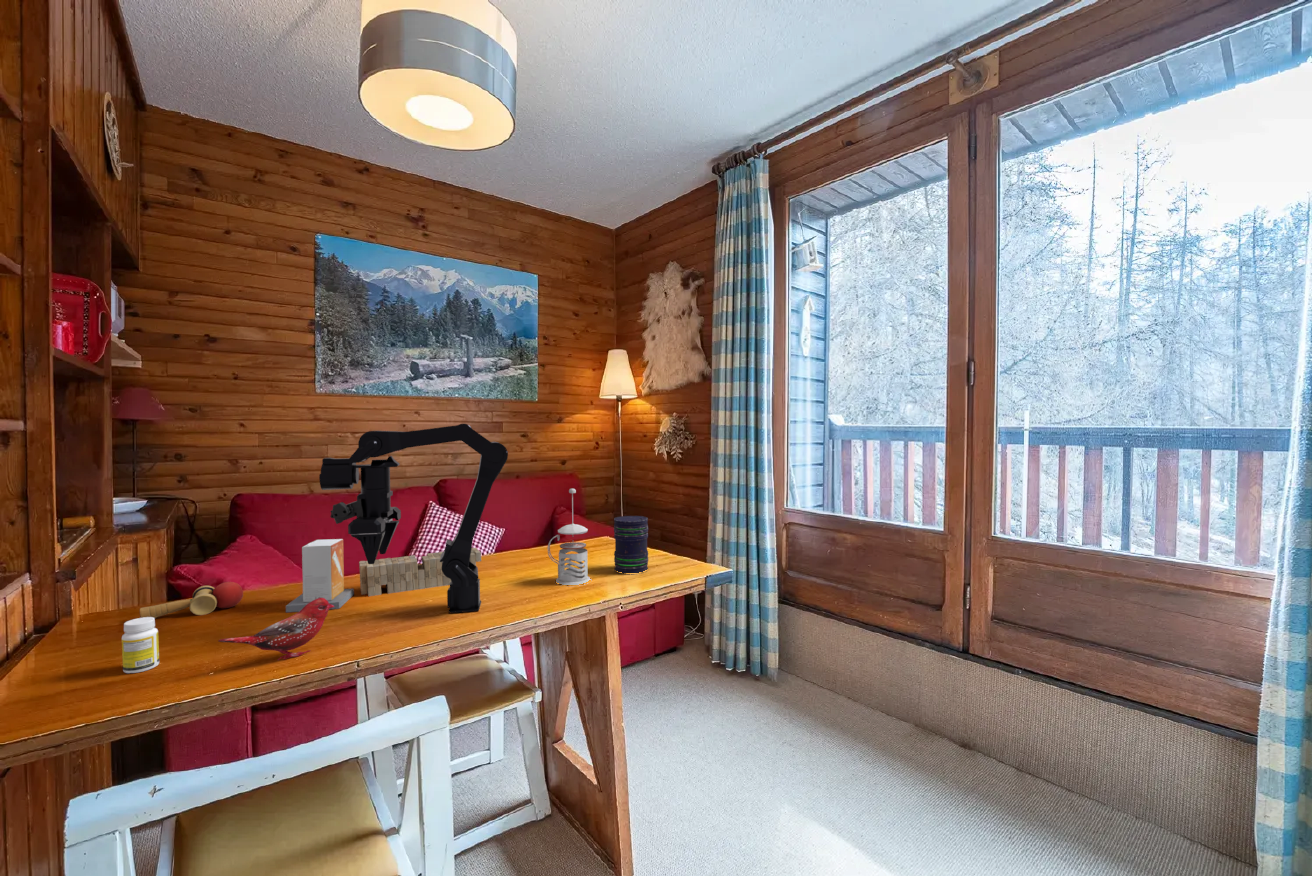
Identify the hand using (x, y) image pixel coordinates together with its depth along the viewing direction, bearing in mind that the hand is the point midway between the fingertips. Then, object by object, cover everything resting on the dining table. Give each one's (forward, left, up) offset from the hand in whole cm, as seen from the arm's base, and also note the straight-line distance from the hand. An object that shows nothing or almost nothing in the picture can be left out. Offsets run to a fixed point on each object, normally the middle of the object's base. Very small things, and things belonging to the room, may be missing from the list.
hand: (377, 558), depth 123 cm
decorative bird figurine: (+11, +20, -13) cm, 27 cm away
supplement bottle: (+34, +18, -13) cm, 41 cm away
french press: (-43, -19, -13) cm, 49 cm away
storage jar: (-61, -26, -13) cm, 68 cm away
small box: (+15, -14, -12) cm, 24 cm away
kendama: (+42, -13, -13) cm, 46 cm away
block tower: (-5, -24, -14) cm, 28 cm away
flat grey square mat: (+16, -14, -13) cm, 25 cm away
